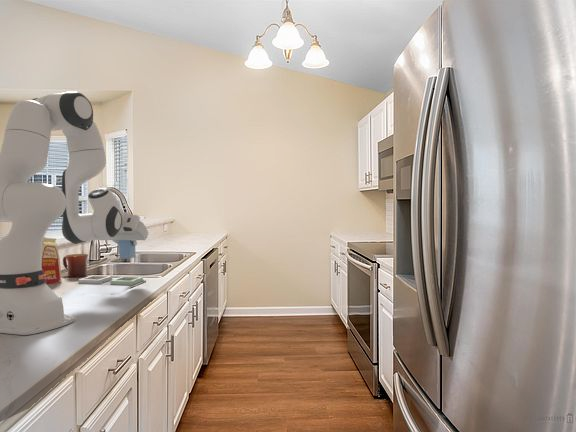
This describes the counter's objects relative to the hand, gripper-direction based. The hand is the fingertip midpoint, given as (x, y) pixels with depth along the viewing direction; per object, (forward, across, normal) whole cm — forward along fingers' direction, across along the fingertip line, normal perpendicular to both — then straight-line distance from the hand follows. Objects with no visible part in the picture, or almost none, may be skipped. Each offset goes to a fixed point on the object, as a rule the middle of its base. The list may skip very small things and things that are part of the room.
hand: (128, 244), depth 160 cm
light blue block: (+3, 0, -4) cm, 5 cm away
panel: (+11, -7, -12) cm, 18 cm away
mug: (+19, -30, -4) cm, 36 cm away
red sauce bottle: (+10, -33, -14) cm, 37 cm away
